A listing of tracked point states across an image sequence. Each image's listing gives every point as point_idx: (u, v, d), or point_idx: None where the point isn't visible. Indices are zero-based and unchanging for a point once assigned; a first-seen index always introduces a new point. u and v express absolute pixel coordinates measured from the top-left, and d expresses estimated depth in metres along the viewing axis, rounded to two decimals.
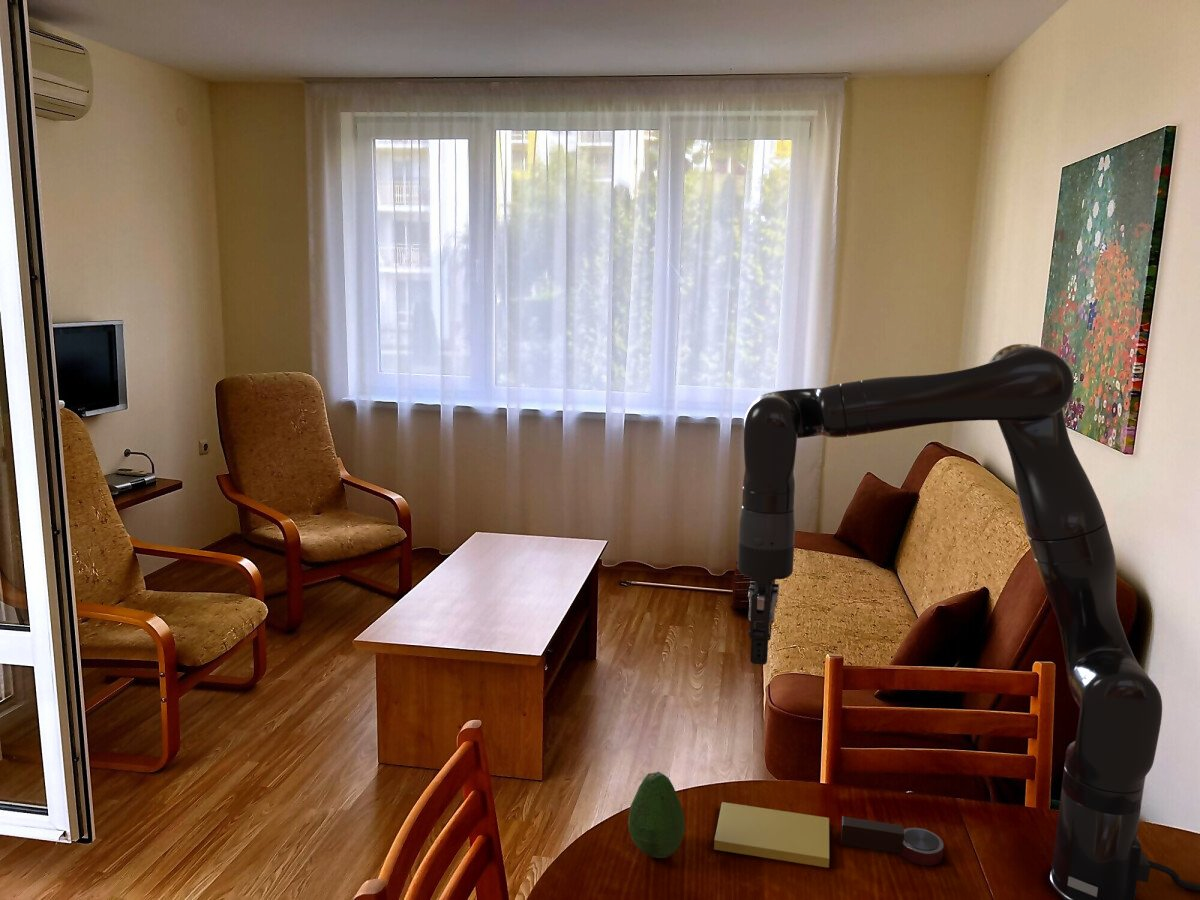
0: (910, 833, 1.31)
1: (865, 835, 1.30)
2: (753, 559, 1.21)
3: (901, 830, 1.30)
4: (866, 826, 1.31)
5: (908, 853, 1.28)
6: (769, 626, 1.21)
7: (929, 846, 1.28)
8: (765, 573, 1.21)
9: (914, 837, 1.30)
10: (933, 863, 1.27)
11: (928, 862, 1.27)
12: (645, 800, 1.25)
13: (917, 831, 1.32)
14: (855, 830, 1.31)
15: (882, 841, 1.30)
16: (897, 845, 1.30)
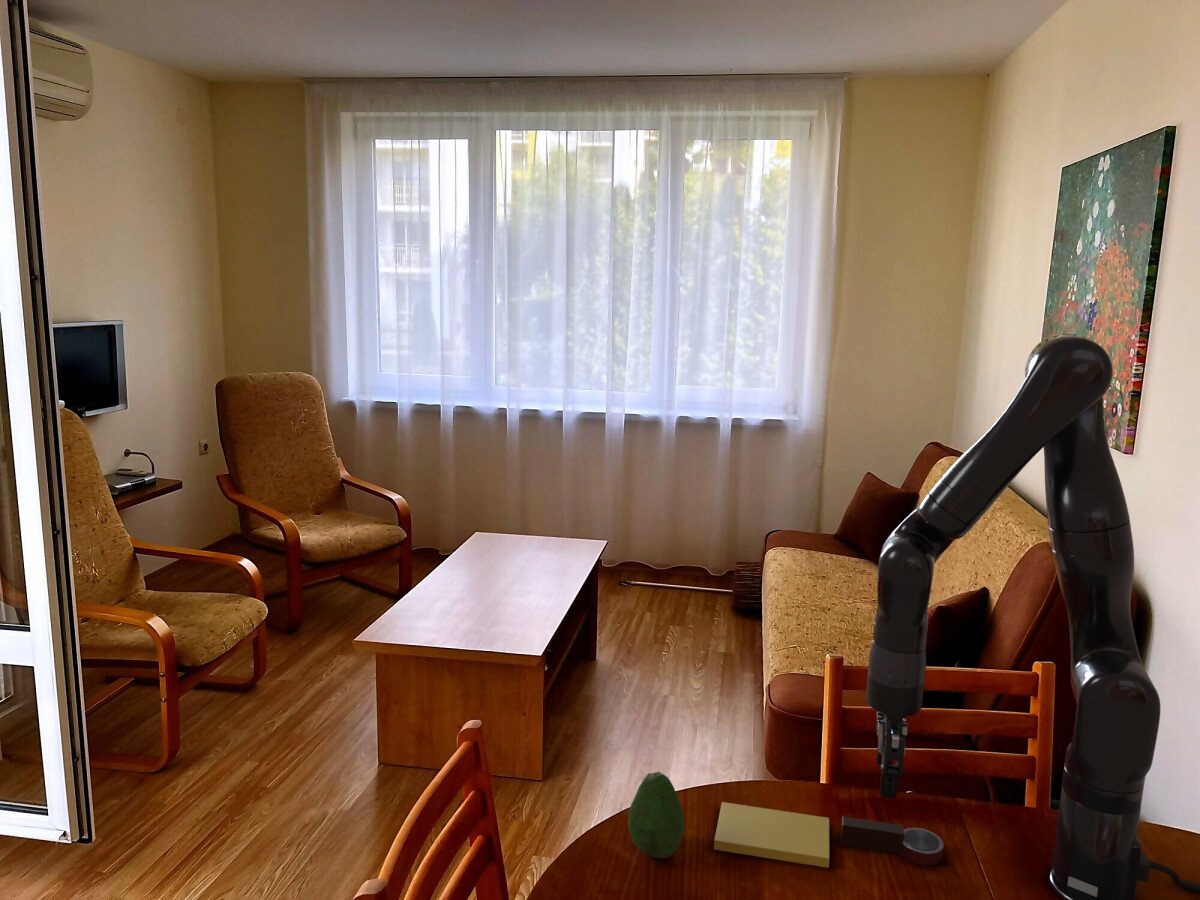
0: (910, 833, 1.31)
1: (865, 835, 1.30)
2: (886, 696, 1.24)
3: (901, 830, 1.30)
4: (866, 826, 1.31)
5: (908, 853, 1.28)
6: None
7: (929, 846, 1.28)
8: (897, 710, 1.23)
9: (914, 837, 1.30)
10: (933, 863, 1.27)
11: (928, 862, 1.27)
12: (645, 800, 1.25)
13: (917, 831, 1.32)
14: (855, 830, 1.31)
15: (882, 841, 1.30)
16: (897, 845, 1.30)
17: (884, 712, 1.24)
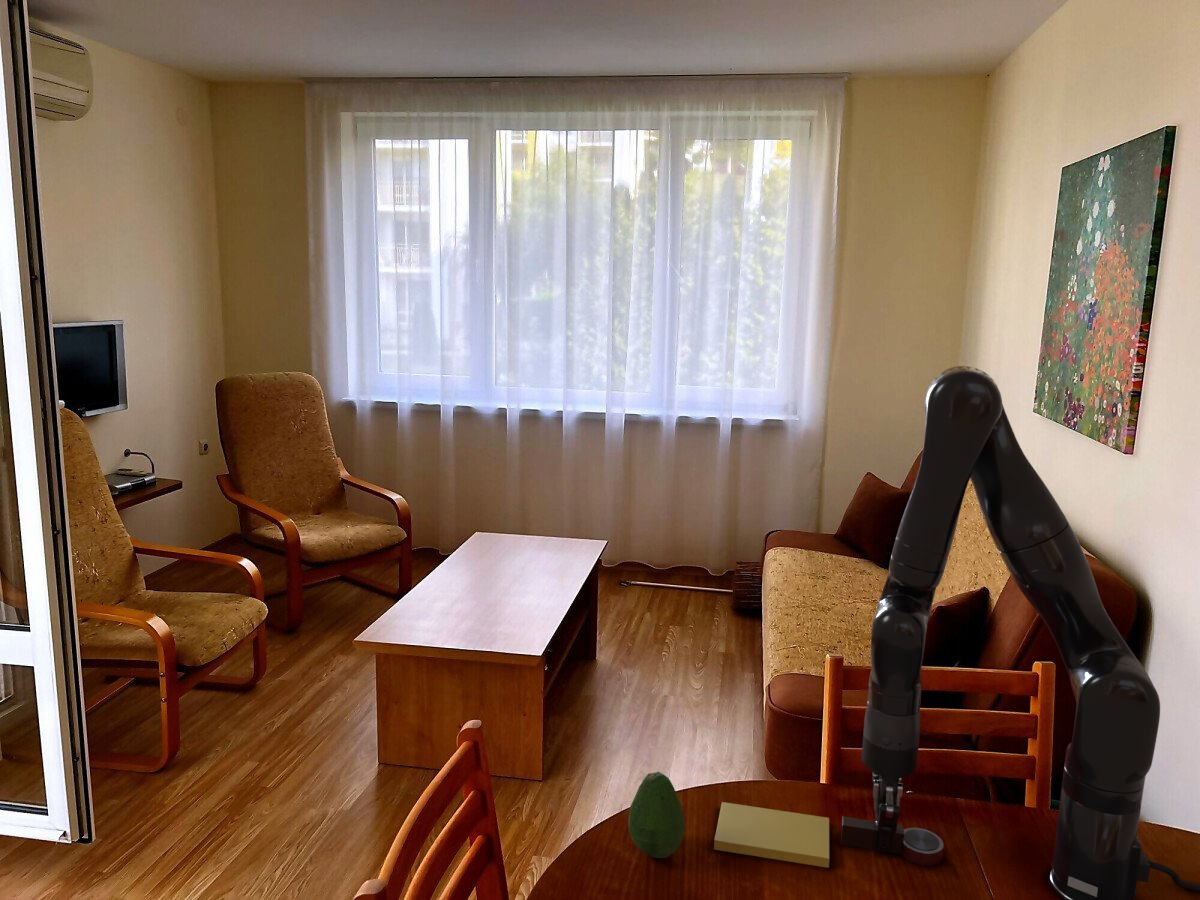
0: (910, 833, 1.31)
1: (865, 835, 1.30)
2: (881, 758, 1.25)
3: (901, 830, 1.30)
4: (866, 826, 1.31)
5: (908, 854, 1.28)
6: None
7: (929, 846, 1.28)
8: (893, 772, 1.25)
9: (914, 837, 1.30)
10: (933, 863, 1.27)
11: (928, 862, 1.27)
12: (645, 800, 1.25)
13: (917, 831, 1.32)
14: (855, 830, 1.31)
15: None
16: (897, 845, 1.30)
17: (879, 773, 1.26)
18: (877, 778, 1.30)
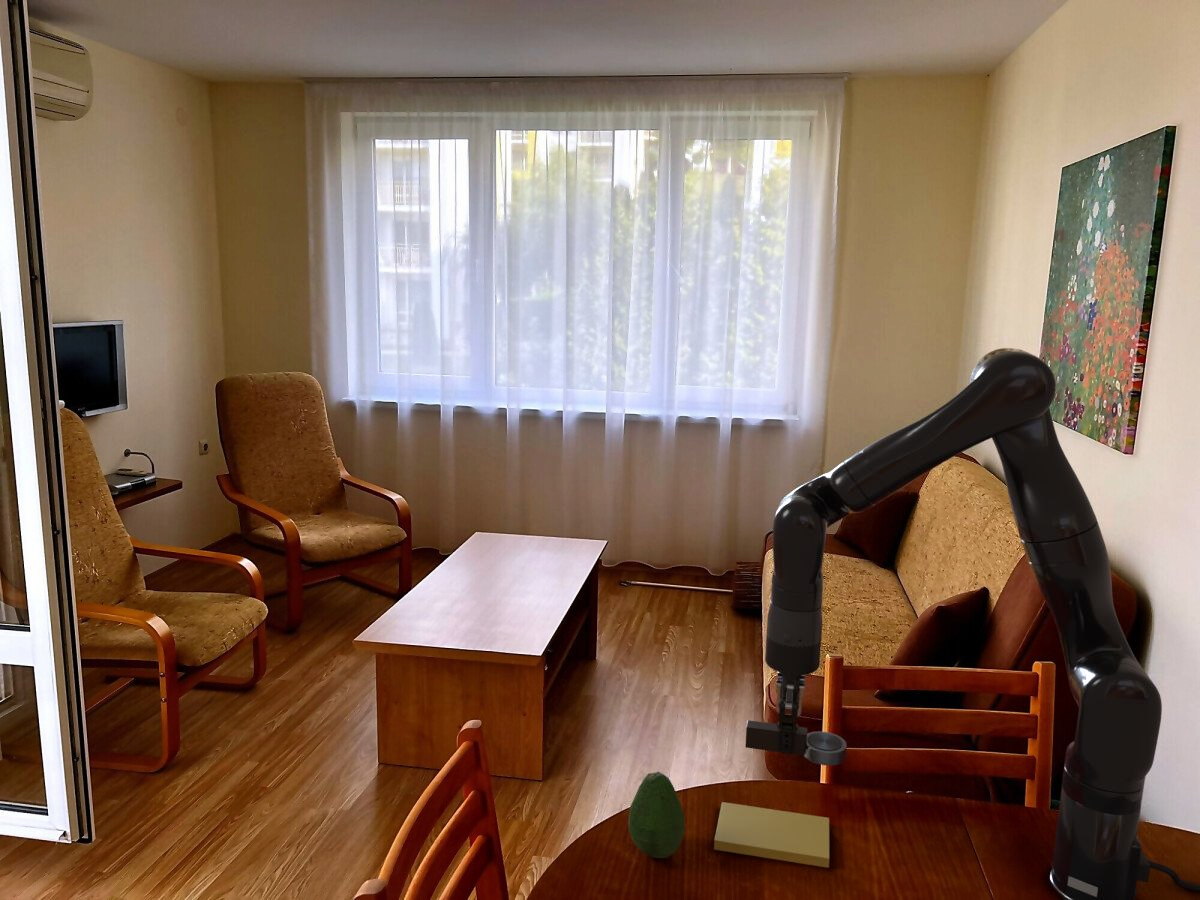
0: (814, 736, 1.30)
1: (769, 737, 1.29)
2: (781, 655, 1.24)
3: (804, 732, 1.29)
4: (770, 728, 1.30)
5: (810, 754, 1.27)
6: None
7: (831, 747, 1.27)
8: (793, 669, 1.24)
9: (817, 739, 1.29)
10: (835, 763, 1.26)
11: (829, 762, 1.26)
12: (645, 800, 1.25)
13: (822, 734, 1.31)
14: (759, 732, 1.30)
15: None
16: (800, 746, 1.29)
17: (780, 671, 1.25)
18: (781, 679, 1.29)
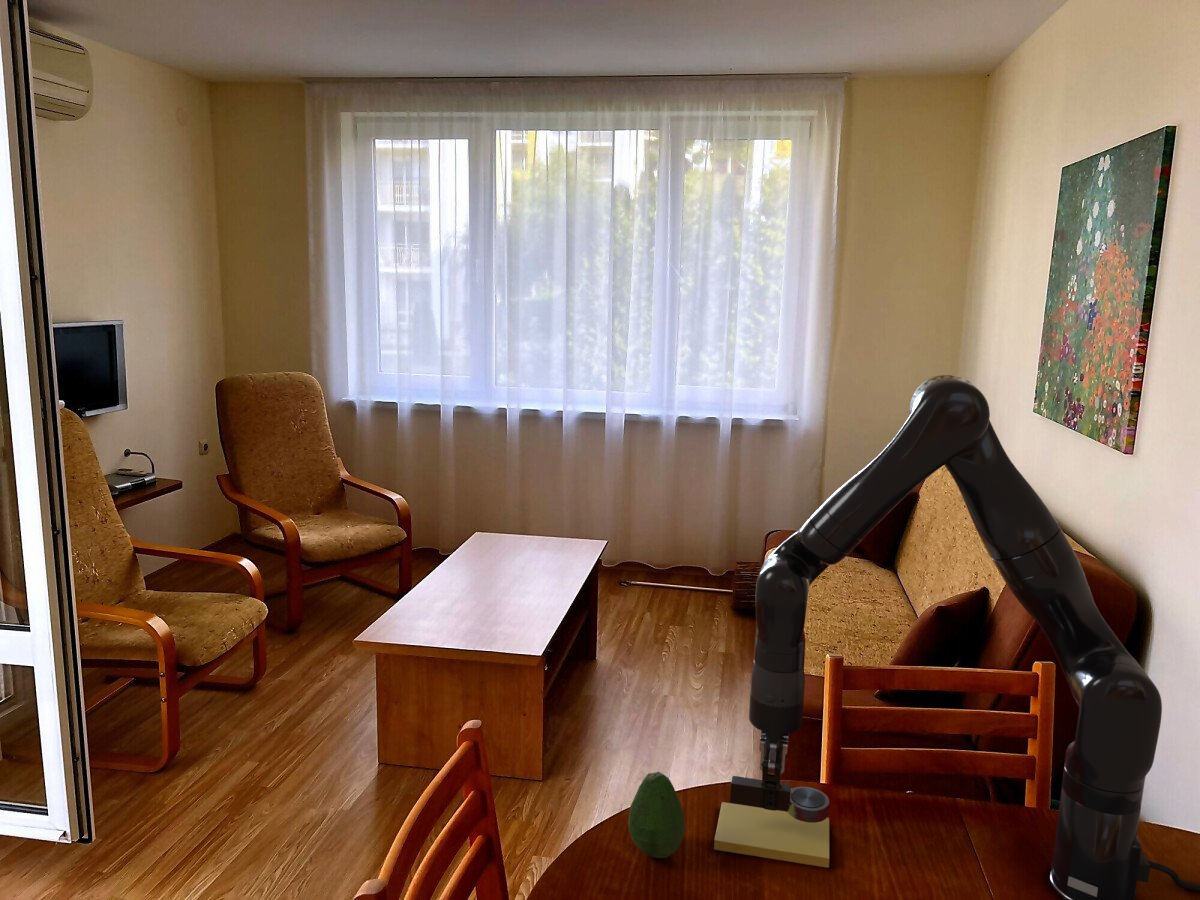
0: (798, 792, 1.32)
1: (753, 793, 1.31)
2: (764, 715, 1.26)
3: (788, 788, 1.31)
4: (754, 784, 1.32)
5: (793, 811, 1.29)
6: None
7: (814, 804, 1.29)
8: (776, 728, 1.26)
9: (801, 795, 1.31)
10: (818, 820, 1.28)
11: (812, 819, 1.28)
12: (645, 800, 1.25)
13: (805, 789, 1.33)
14: (743, 788, 1.32)
15: None
16: (784, 803, 1.30)
17: (763, 730, 1.27)
18: (765, 737, 1.31)
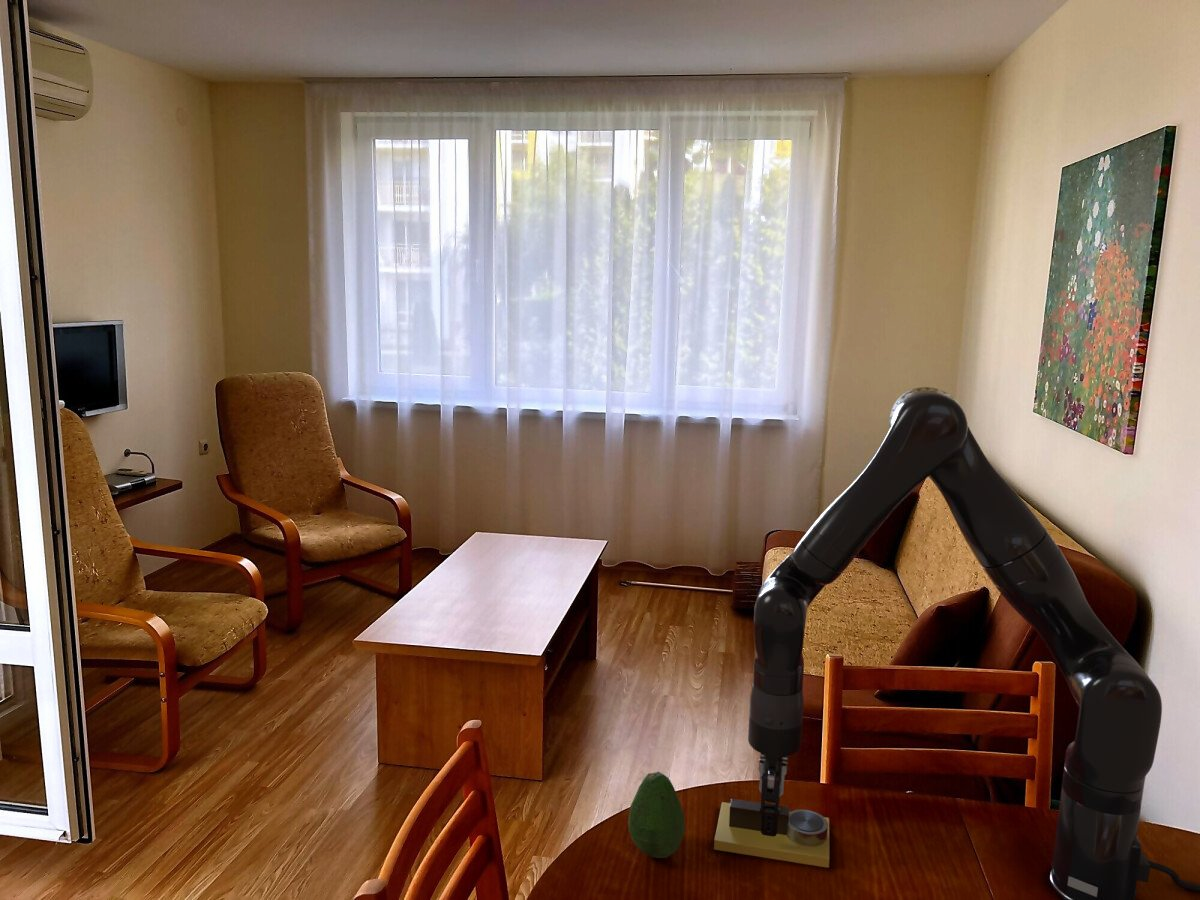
0: (796, 815, 1.33)
1: (752, 816, 1.32)
2: (763, 737, 1.27)
3: (787, 811, 1.31)
4: (753, 808, 1.32)
5: (792, 834, 1.30)
6: None
7: (812, 827, 1.30)
8: (775, 751, 1.27)
9: (799, 819, 1.32)
10: (816, 844, 1.29)
11: (811, 843, 1.29)
12: (645, 800, 1.25)
13: (804, 812, 1.33)
14: (742, 811, 1.32)
15: None
16: (782, 826, 1.31)
17: (762, 752, 1.27)
18: (764, 758, 1.32)
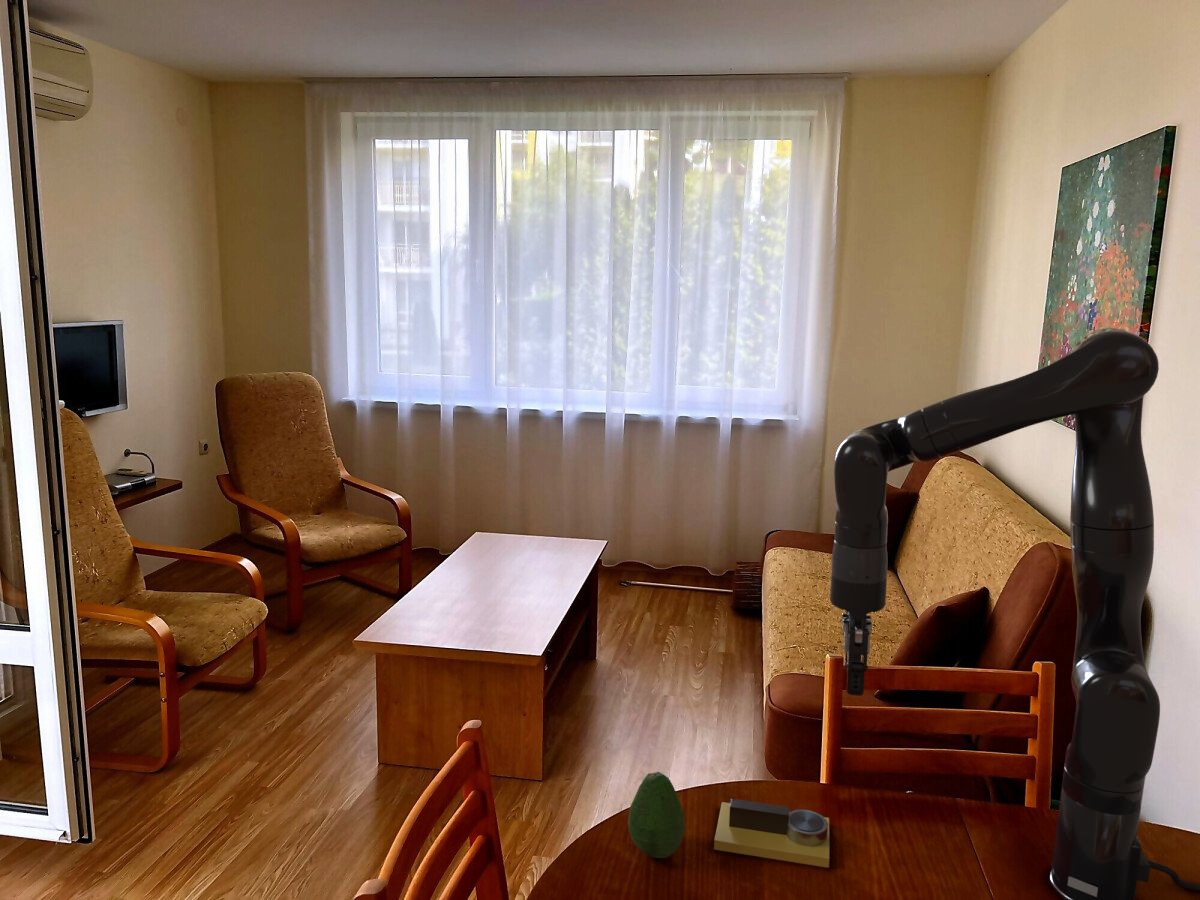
0: (796, 815, 1.33)
1: (752, 816, 1.32)
2: (848, 593, 1.24)
3: (787, 811, 1.31)
4: (753, 808, 1.32)
5: (792, 834, 1.30)
6: None
7: (812, 827, 1.30)
8: (860, 606, 1.24)
9: (799, 819, 1.32)
10: (816, 844, 1.29)
11: (811, 843, 1.29)
12: (645, 800, 1.25)
13: (804, 812, 1.33)
14: (742, 811, 1.32)
15: (768, 823, 1.32)
16: (782, 826, 1.31)
17: (847, 609, 1.25)
18: None
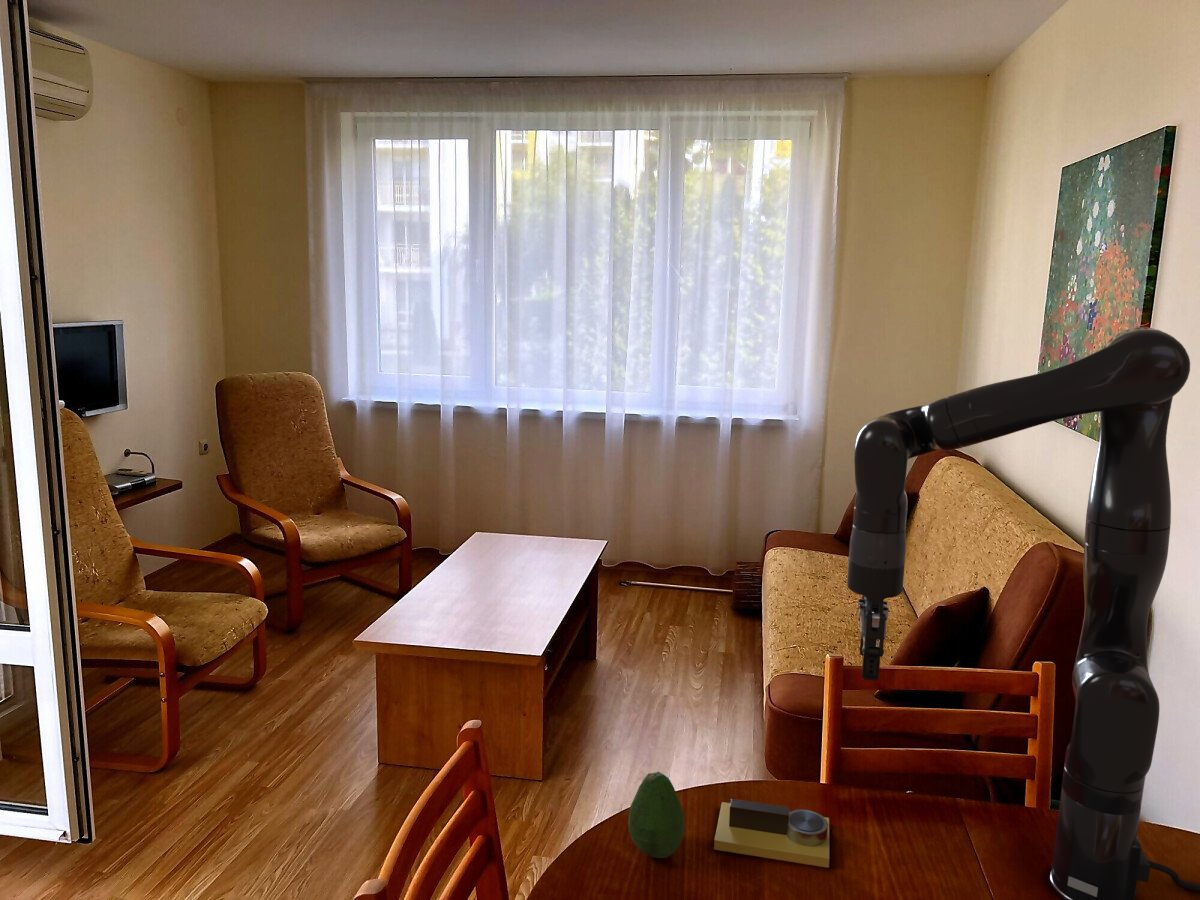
0: (796, 815, 1.33)
1: (752, 816, 1.32)
2: (866, 578, 1.24)
3: (787, 811, 1.31)
4: (753, 808, 1.32)
5: (792, 834, 1.30)
6: None
7: (812, 827, 1.30)
8: (878, 592, 1.24)
9: (799, 819, 1.32)
10: (816, 844, 1.29)
11: (811, 843, 1.29)
12: (645, 800, 1.25)
13: (804, 812, 1.33)
14: (742, 811, 1.32)
15: (768, 823, 1.32)
16: (782, 826, 1.31)
17: (865, 594, 1.25)
18: None
